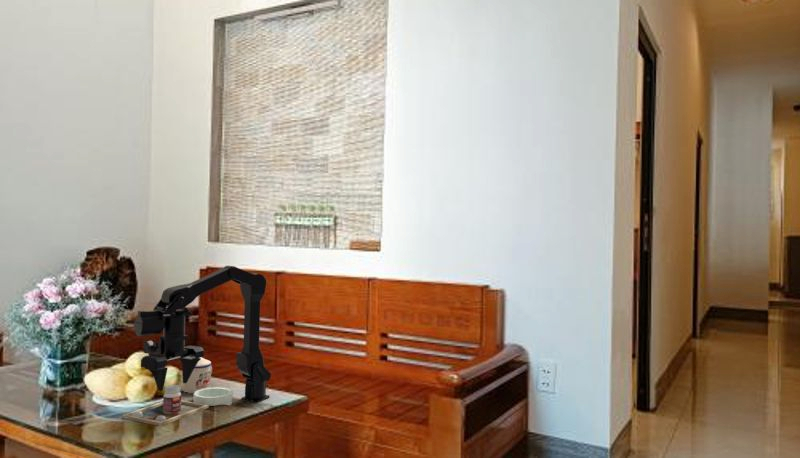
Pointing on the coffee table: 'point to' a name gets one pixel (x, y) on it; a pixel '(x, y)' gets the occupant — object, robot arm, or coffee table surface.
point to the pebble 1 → (137, 414)
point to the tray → (201, 407)
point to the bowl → (213, 396)
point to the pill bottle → (172, 399)
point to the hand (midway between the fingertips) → (173, 386)
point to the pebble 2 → (160, 418)
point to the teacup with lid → (199, 377)
